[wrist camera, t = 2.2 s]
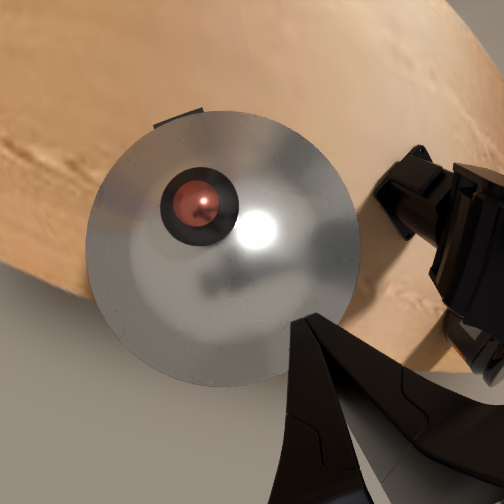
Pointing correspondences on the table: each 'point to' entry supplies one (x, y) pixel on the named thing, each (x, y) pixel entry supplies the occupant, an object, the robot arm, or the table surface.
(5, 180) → the table surface
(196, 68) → the table surface
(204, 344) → the lid
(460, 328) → the supplement container
